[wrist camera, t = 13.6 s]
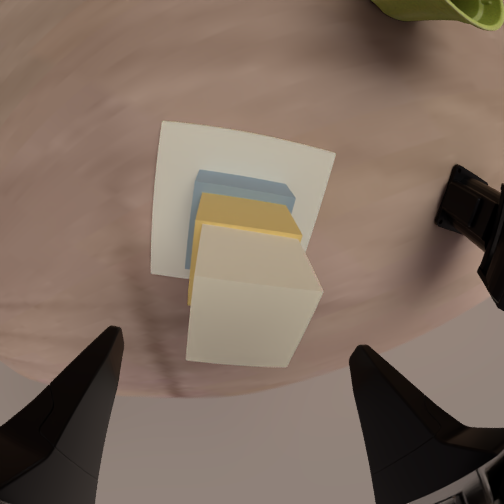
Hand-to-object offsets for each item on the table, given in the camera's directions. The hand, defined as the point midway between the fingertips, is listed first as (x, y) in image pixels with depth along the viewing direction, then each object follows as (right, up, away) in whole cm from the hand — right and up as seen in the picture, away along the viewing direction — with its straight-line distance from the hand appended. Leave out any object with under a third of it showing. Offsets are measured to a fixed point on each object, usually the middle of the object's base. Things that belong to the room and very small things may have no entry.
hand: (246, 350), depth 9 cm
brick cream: (0, +2, +4) cm, 5 cm away
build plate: (-1, +6, +11) cm, 13 cm away
